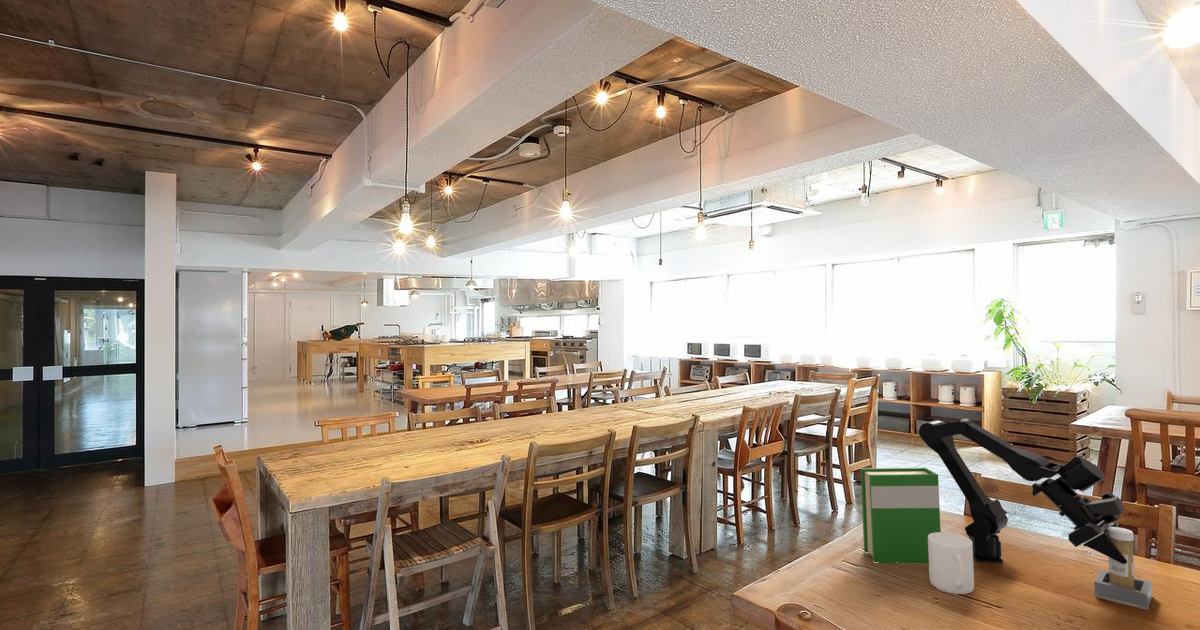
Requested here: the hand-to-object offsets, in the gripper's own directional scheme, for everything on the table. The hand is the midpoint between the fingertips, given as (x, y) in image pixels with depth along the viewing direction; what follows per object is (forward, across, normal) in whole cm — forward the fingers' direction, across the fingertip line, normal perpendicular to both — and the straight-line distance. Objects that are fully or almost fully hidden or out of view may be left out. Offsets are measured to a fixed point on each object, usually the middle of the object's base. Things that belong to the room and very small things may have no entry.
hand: (1128, 560), depth 132 cm
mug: (-12, -25, +26) cm, 38 cm away
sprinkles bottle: (+4, 0, +6) cm, 7 cm away
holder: (+6, 0, +7) cm, 9 cm away
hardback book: (-24, -17, +38) cm, 48 cm away
